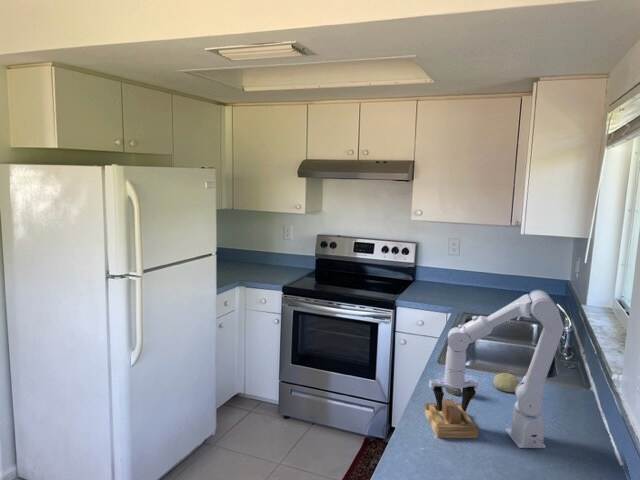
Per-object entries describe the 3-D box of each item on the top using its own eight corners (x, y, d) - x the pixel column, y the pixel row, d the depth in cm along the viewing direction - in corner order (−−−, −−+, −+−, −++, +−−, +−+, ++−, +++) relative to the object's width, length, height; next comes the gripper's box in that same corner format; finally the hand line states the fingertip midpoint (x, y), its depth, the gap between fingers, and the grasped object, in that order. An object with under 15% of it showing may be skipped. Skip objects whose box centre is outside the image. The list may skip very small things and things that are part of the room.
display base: (477, 437, 146) (478, 426, 145) (437, 437, 145) (438, 426, 144) (461, 413, 160) (462, 403, 159) (424, 413, 159) (425, 402, 158)
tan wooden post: (460, 426, 148) (461, 412, 147) (450, 426, 148) (451, 412, 147) (451, 412, 156) (452, 399, 155) (441, 412, 156) (442, 399, 155)
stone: (448, 388, 177) (450, 361, 175) (462, 394, 172) (464, 366, 171) (443, 391, 174) (445, 364, 173) (457, 397, 170) (459, 369, 169)
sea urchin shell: (489, 385, 176) (494, 364, 180) (491, 393, 182) (496, 373, 186) (516, 392, 172) (521, 371, 175) (518, 400, 177) (522, 380, 181)
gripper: (473, 362, 153) (469, 403, 156) (427, 361, 152) (424, 402, 155) (482, 372, 147) (478, 414, 149) (434, 371, 146) (431, 414, 148)
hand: (451, 409), depth 151 cm, fingers open, 7 cm apart
